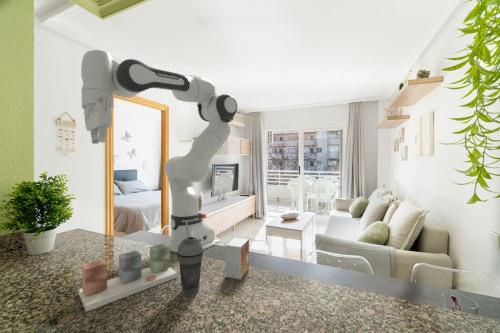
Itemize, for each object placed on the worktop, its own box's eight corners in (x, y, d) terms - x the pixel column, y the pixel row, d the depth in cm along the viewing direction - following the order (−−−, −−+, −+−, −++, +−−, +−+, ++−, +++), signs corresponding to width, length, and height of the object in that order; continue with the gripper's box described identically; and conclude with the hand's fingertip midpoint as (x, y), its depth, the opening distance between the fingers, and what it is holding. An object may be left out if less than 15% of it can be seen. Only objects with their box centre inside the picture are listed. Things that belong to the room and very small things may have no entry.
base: (163, 266, 81) (163, 261, 81) (177, 277, 74) (177, 271, 73) (79, 294, 64) (79, 288, 64) (86, 311, 57) (85, 304, 57)
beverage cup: (196, 301, 61) (197, 226, 61) (171, 297, 63) (171, 225, 62) (207, 286, 69) (207, 219, 68) (184, 283, 70) (184, 218, 69)
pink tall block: (103, 282, 66) (103, 258, 66) (107, 288, 63) (107, 263, 63) (82, 289, 63) (82, 264, 63) (85, 296, 60) (84, 269, 60)
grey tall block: (136, 272, 73) (136, 250, 72) (141, 277, 70) (141, 254, 69) (119, 277, 69) (119, 254, 69) (123, 283, 66) (123, 259, 66)
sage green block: (164, 263, 79) (164, 243, 79) (169, 267, 76) (169, 246, 76) (149, 268, 75) (149, 247, 75) (154, 272, 72) (154, 250, 72)
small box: (241, 280, 72) (241, 247, 72) (224, 277, 74) (224, 244, 74) (249, 268, 80) (249, 238, 79) (234, 266, 82) (234, 237, 81)
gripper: (117, 97, 71) (117, 142, 72) (101, 107, 86) (102, 144, 86) (93, 93, 67) (93, 140, 67) (81, 104, 82) (81, 143, 82)
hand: (98, 143), depth 77 cm, fingers open, 8 cm apart
